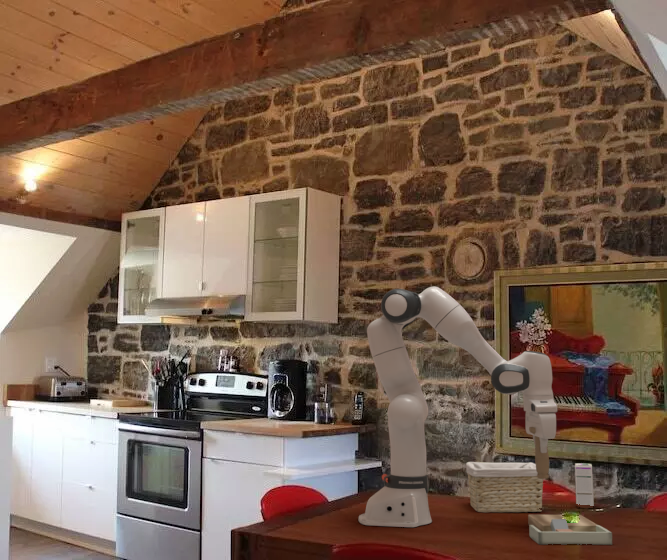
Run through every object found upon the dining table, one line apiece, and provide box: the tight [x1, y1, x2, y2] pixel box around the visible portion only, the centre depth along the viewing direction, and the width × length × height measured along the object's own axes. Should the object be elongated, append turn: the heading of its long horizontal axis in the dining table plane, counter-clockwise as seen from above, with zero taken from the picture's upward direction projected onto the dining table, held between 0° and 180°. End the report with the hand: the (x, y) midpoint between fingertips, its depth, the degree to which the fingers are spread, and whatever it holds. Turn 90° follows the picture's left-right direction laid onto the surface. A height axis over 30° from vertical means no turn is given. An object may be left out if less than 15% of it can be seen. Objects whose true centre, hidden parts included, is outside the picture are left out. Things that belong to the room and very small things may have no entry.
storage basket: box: [465, 461, 544, 514], centre depth 268 cm, size 24×16×15 cm
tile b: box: [550, 519, 569, 532], centre depth 224 cm, size 4×4×2 cm
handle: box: [529, 427, 550, 480], centre depth 237 cm, size 5×6×15 cm
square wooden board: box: [527, 514, 598, 532], centre depth 234 cm, size 16×16×3 cm
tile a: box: [556, 529, 574, 532], centre depth 219 cm, size 4×4×2 cm
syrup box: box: [574, 462, 595, 507], centre depth 271 cm, size 6×6×14 cm
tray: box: [528, 524, 613, 546], centre depth 220 cm, size 20×10×3 cm, turn 91°
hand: (540, 451), depth 237 cm, fingers closed on handle, 4 cm apart
